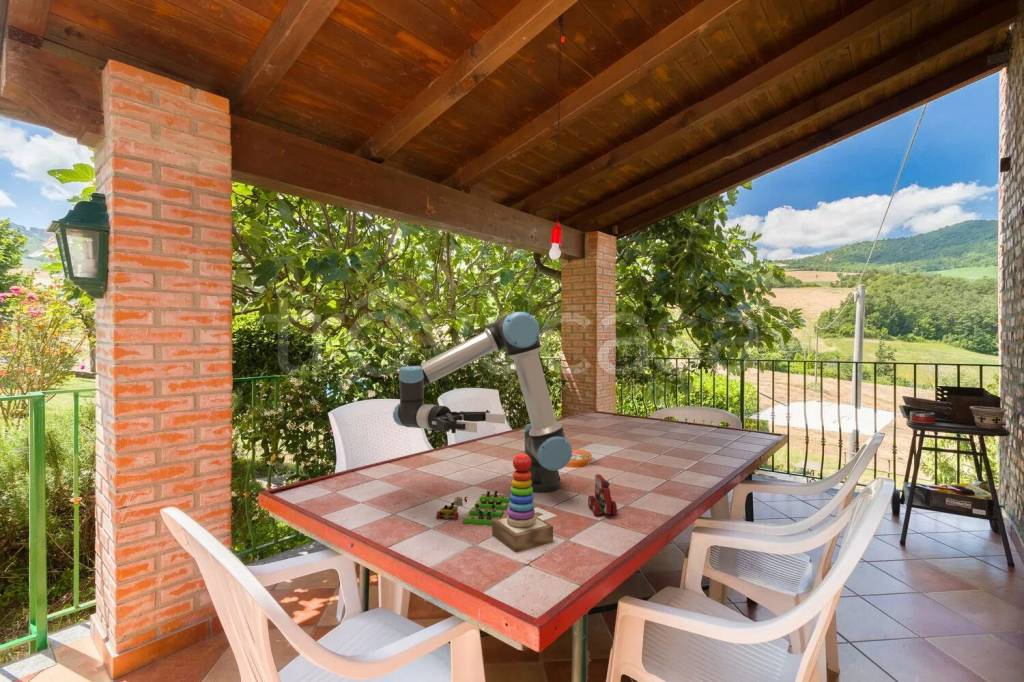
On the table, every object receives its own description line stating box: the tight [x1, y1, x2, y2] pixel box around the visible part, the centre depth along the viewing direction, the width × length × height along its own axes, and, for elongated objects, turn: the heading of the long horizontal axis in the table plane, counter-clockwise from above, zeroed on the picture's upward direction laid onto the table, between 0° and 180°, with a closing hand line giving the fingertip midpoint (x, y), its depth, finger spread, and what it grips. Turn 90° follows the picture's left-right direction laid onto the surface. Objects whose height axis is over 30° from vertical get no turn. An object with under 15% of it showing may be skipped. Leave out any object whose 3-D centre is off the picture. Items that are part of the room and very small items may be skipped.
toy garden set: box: [435, 490, 511, 527], centre depth 147 cm, size 23×19×5 cm
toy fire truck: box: [587, 473, 618, 516], centre depth 146 cm, size 7×12×10 cm, turn 5°
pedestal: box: [491, 516, 554, 553], centre depth 126 cm, size 12×12×4 cm
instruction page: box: [534, 507, 558, 522], centre depth 142 cm, size 12×9×1 cm
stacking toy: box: [506, 452, 536, 527], centre depth 126 cm, size 8×8×19 cm
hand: (490, 422), depth 131 cm, fingers open, 13 cm apart
